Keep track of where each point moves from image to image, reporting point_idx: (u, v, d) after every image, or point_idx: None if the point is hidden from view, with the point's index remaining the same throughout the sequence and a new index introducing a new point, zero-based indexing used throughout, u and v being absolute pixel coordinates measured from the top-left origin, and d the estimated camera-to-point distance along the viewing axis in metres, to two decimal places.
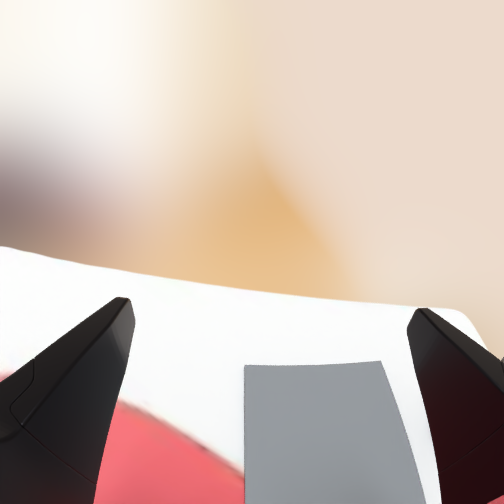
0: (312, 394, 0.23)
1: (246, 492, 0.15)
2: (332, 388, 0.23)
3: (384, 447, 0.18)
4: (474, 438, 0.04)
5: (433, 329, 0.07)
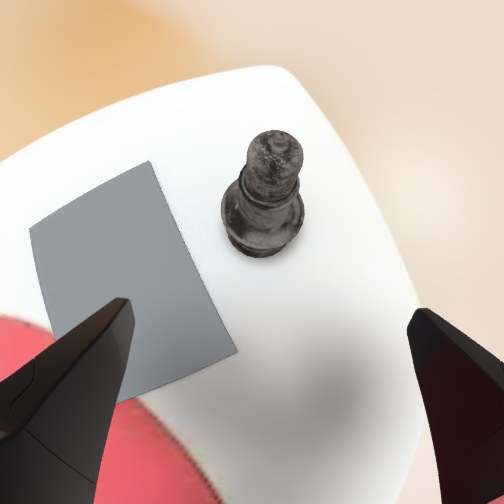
0: (81, 230, 0.22)
1: None
2: (98, 215, 0.22)
3: (159, 268, 0.22)
4: (474, 438, 0.04)
5: (433, 329, 0.07)
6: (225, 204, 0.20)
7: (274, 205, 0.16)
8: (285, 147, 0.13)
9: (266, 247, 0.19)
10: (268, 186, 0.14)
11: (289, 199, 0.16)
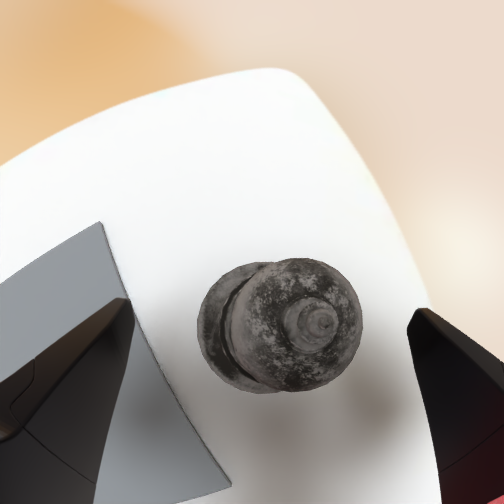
0: (24, 319, 0.14)
1: None
2: (40, 301, 0.15)
3: (122, 387, 0.14)
4: (474, 438, 0.04)
5: (433, 329, 0.07)
6: (204, 323, 0.12)
7: None
8: None
9: (270, 391, 0.11)
10: None
11: None
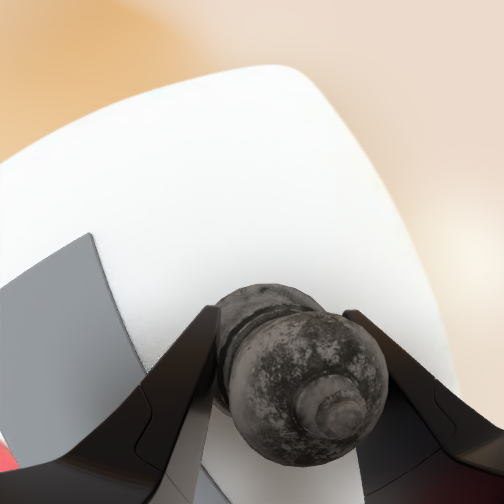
0: (14, 335, 0.13)
1: None
2: (30, 317, 0.13)
3: None
4: (397, 467, 0.04)
5: None
6: None
7: None
8: None
9: None
10: None
11: None
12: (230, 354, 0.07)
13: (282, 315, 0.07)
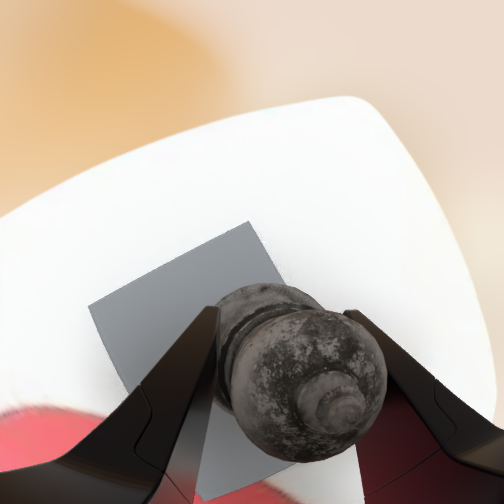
0: (172, 312, 0.19)
1: None
2: (193, 294, 0.20)
3: None
4: (397, 467, 0.04)
5: None
6: None
7: None
8: None
9: None
10: None
11: None
12: (231, 352, 0.07)
13: (283, 314, 0.07)
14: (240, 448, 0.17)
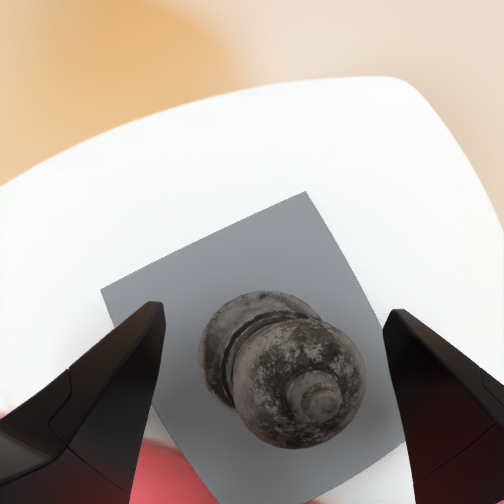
0: (212, 298, 0.16)
1: (197, 472, 0.13)
2: (240, 275, 0.16)
3: None
4: (449, 449, 0.04)
5: (407, 332, 0.07)
6: (205, 353, 0.11)
7: None
8: None
9: None
10: None
11: None
12: (233, 354, 0.08)
13: (279, 320, 0.08)
14: (291, 465, 0.13)
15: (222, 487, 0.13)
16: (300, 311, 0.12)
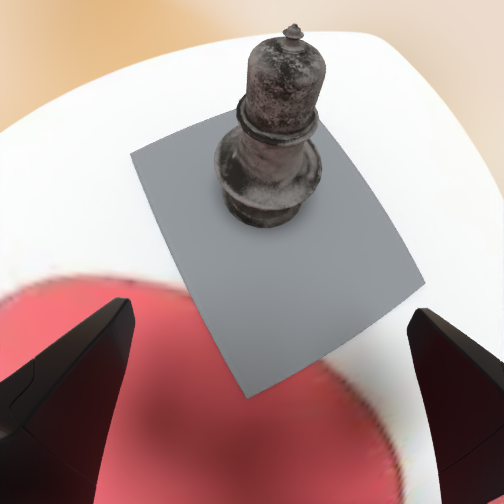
0: None
1: (202, 315, 0.16)
2: None
3: (340, 196, 0.19)
4: (474, 438, 0.04)
5: (433, 329, 0.07)
6: (220, 154, 0.15)
7: (286, 139, 0.11)
8: (302, 48, 0.08)
9: (274, 207, 0.14)
10: (278, 102, 0.09)
11: (306, 133, 0.11)
12: (245, 100, 0.11)
13: None
14: (298, 305, 0.17)
15: (227, 334, 0.16)
16: None
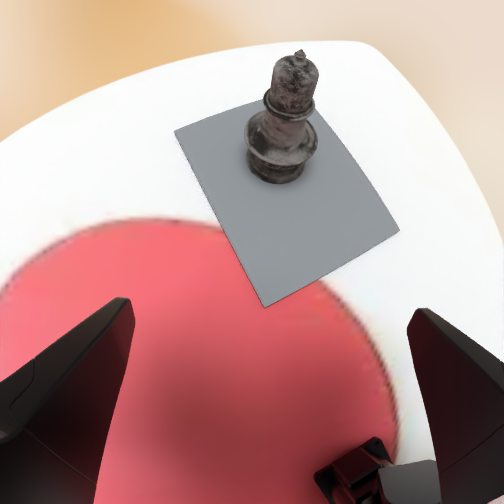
0: None
1: (232, 242, 0.22)
2: None
3: (332, 164, 0.25)
4: (474, 438, 0.04)
5: (433, 329, 0.07)
6: (248, 129, 0.21)
7: (294, 116, 0.17)
8: (305, 63, 0.14)
9: (285, 163, 0.20)
10: (290, 94, 0.15)
11: (307, 113, 0.17)
12: (268, 93, 0.17)
13: None
14: (302, 237, 0.23)
15: (251, 256, 0.22)
16: None
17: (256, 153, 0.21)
